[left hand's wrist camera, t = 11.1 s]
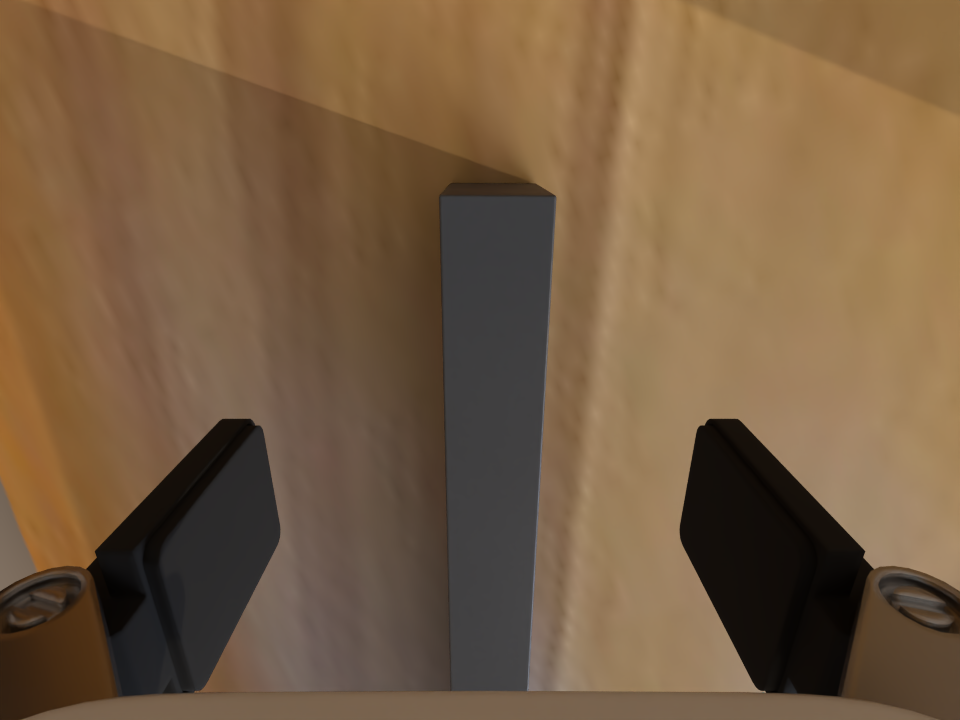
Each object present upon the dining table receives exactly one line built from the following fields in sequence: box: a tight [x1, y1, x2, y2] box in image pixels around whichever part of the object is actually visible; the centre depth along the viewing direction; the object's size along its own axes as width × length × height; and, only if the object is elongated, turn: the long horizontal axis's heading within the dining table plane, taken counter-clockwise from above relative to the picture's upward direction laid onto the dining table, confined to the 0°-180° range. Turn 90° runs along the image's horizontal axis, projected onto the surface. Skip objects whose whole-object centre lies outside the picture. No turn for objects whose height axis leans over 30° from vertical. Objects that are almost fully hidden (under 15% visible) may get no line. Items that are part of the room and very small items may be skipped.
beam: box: [439, 183, 556, 691], centre depth 38 cm, size 73×5×8 cm, turn 0°
